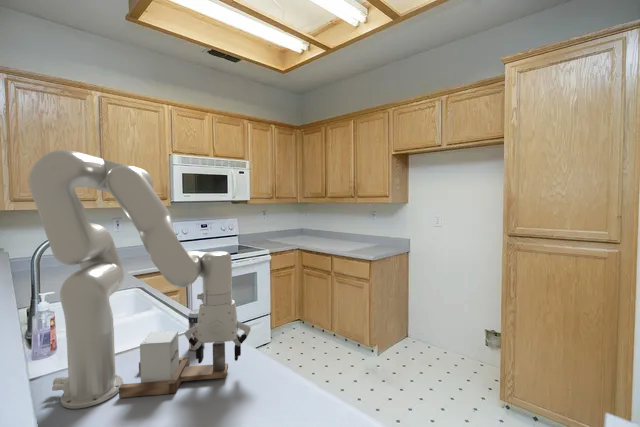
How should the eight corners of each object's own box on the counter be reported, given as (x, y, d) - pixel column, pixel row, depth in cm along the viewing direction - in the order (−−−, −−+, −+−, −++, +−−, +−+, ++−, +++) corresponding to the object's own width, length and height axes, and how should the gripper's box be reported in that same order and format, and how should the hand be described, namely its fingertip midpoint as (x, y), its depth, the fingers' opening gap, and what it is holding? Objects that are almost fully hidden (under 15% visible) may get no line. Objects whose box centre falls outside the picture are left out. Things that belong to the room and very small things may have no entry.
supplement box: (171, 391, 80) (170, 342, 80) (140, 393, 79) (138, 344, 79) (180, 374, 88) (179, 330, 87) (151, 376, 87) (150, 331, 86)
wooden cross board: (119, 397, 77) (117, 362, 77) (141, 369, 90) (140, 338, 90) (223, 388, 81) (222, 355, 80) (230, 362, 93) (229, 333, 93)
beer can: (192, 353, 100) (191, 315, 99) (186, 347, 103) (185, 311, 103) (207, 348, 103) (206, 311, 102) (201, 343, 107) (200, 307, 106)
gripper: (179, 303, 81) (181, 369, 82) (249, 300, 83) (250, 364, 84) (187, 294, 88) (189, 355, 89) (251, 292, 91) (252, 350, 91)
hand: (218, 359), depth 87 cm, fingers open, 9 cm apart
